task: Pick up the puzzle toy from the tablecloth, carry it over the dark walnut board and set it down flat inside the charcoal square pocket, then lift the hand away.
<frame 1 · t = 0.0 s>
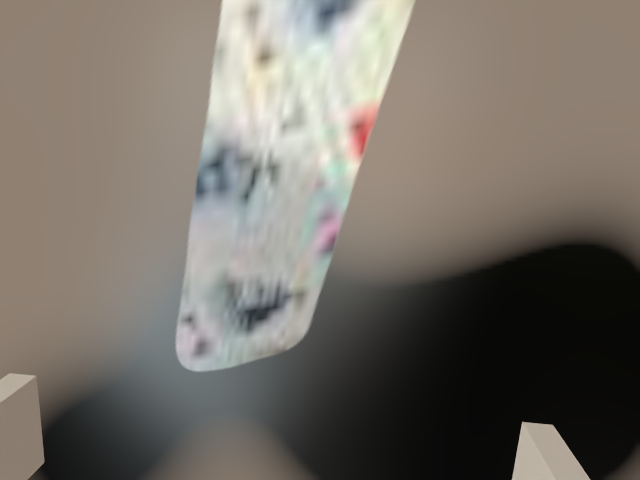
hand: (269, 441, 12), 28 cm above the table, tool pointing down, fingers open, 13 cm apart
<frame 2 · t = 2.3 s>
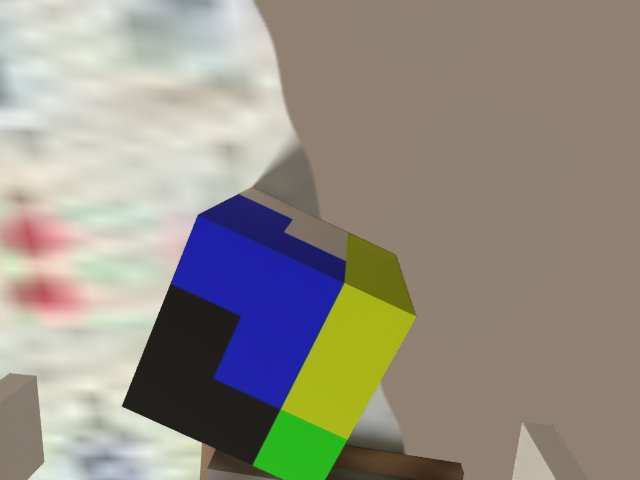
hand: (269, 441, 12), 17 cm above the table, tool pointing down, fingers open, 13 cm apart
puzzle toy: (292, 287, 30), on the table
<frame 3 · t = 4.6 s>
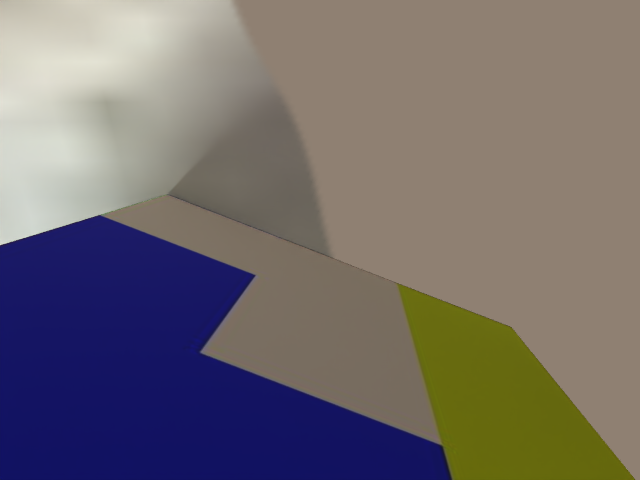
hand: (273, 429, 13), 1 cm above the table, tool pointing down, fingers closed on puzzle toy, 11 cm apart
puzzle toy: (279, 407, 14), on the table, touching gripper
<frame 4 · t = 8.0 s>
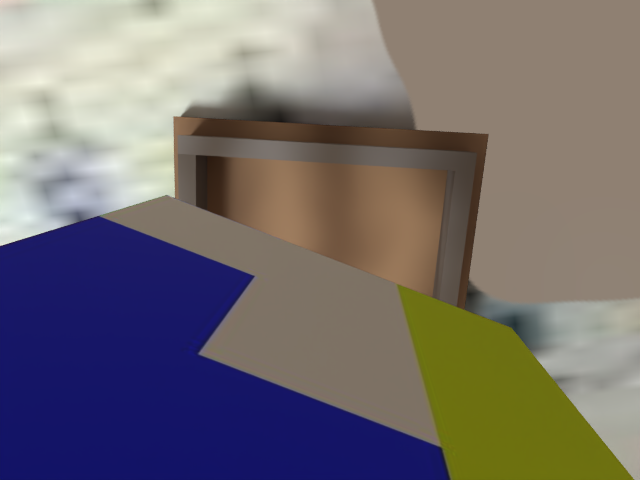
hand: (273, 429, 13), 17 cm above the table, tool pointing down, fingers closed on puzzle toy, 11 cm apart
puzzle toy: (279, 408, 14), point 16 cm above the table, touching gripper
pocket board: (320, 270, 29), on the table
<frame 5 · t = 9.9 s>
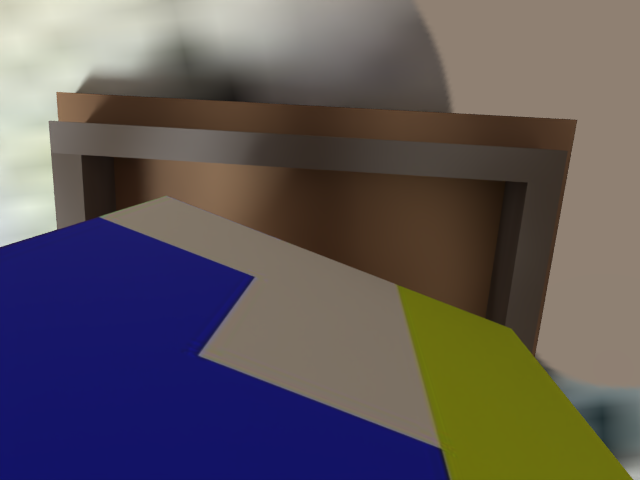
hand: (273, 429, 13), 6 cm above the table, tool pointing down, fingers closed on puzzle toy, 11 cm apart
puzzle toy: (279, 409, 14), point 5 cm above the table, touching gripper
pocket board: (299, 334, 19), on the table
when the fingers open (4 cm above the table, at t = 11.4 s): puzzle toy drops 2 cm, resting on pocket board.
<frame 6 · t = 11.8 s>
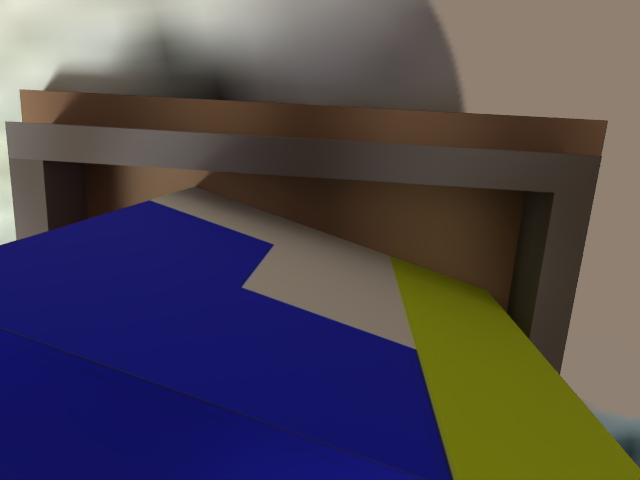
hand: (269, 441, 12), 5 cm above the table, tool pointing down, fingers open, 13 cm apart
puzzle toy: (293, 367, 16), point 1 cm above the table, touching pocket board
pocket board: (293, 359, 17), on the table
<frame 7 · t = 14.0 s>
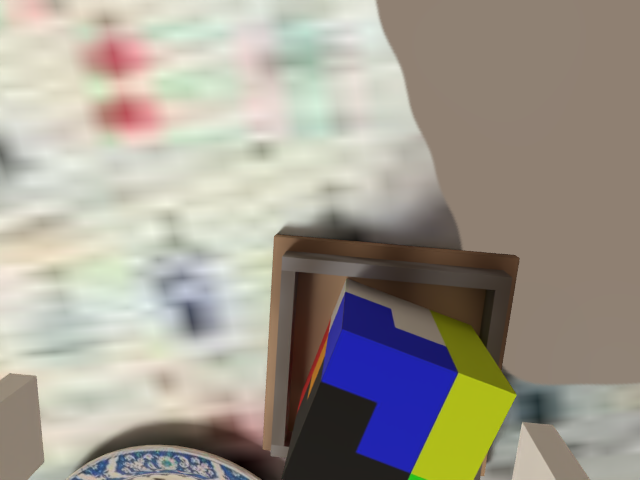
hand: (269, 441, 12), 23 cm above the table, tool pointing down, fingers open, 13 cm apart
puzzle toy: (383, 357, 35), point 1 cm above the table, touching pocket board
pocket board: (381, 354, 36), on the table
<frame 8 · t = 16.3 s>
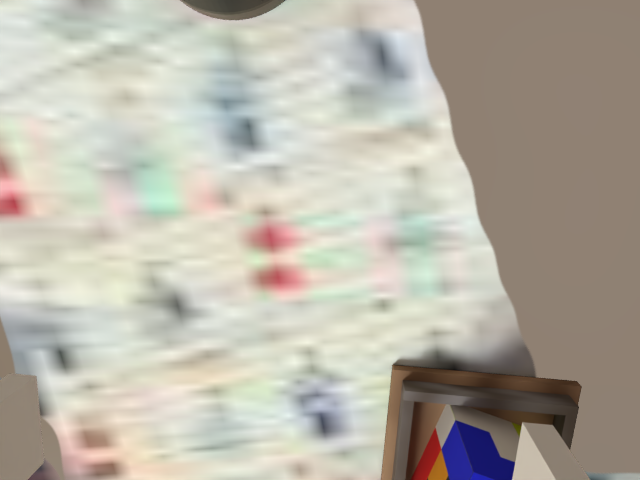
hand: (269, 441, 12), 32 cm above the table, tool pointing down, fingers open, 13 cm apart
puzzle toy: (474, 455, 46), point 1 cm above the table, touching pocket board
pocket board: (471, 451, 47), on the table
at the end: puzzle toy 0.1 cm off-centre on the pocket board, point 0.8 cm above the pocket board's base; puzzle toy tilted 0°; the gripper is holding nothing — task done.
